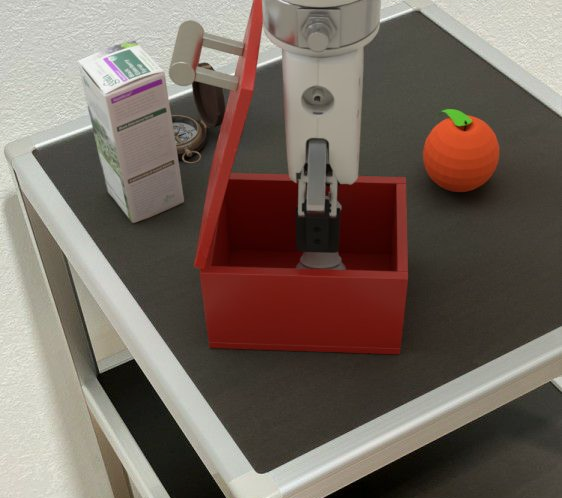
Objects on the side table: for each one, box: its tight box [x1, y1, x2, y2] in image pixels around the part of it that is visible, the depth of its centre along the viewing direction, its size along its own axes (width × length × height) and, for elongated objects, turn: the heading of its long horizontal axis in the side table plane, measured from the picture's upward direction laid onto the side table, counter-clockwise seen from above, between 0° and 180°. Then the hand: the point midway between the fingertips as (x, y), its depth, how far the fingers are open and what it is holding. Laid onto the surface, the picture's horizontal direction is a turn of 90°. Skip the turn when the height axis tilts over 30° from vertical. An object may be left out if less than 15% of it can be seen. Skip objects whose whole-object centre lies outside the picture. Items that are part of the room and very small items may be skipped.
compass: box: [171, 61, 226, 165], centre depth 93 cm, size 8×8×7 cm
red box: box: [199, 172, 409, 355], centre depth 79 cm, size 16×12×9 cm
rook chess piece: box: [296, 192, 346, 270], centre depth 79 cm, size 4×4×8 cm
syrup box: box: [77, 40, 185, 224], centre depth 86 cm, size 6×6×14 cm
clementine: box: [422, 108, 500, 193], centre depth 89 cm, size 8×7×7 cm
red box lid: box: [168, 0, 263, 270], centre depth 69 cm, size 16×12×5 cm
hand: (319, 214), depth 75 cm, fingers open, 6 cm apart
